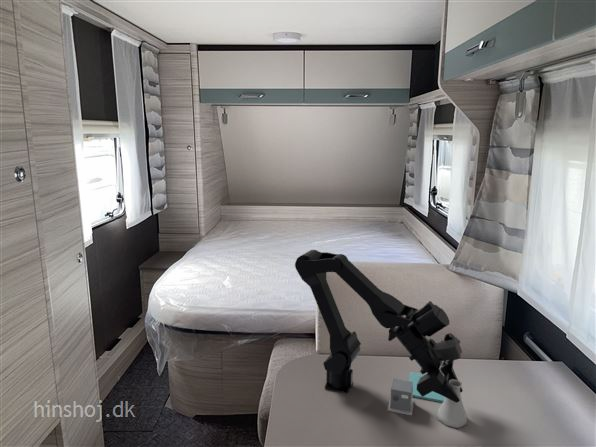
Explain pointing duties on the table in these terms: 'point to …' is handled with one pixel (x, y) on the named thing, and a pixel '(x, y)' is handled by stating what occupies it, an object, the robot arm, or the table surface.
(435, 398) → the mat
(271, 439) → the table surface
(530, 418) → the table surface
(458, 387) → the flask
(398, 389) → the box
